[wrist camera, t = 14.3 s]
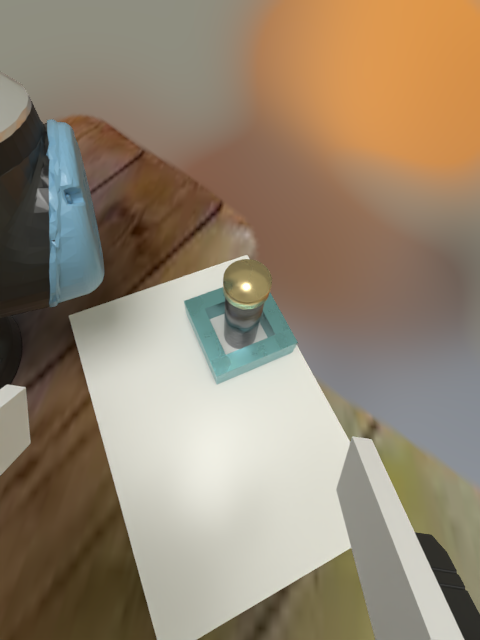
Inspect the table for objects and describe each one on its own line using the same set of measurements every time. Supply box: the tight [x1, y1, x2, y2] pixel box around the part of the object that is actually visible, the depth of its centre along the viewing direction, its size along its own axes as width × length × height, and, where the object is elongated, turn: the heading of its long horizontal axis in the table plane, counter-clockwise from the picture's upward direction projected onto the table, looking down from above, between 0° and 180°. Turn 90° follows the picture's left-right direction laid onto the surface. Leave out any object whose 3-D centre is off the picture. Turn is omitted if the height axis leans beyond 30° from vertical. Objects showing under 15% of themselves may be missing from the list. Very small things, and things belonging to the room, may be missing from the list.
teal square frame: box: [184, 287, 298, 384], centre depth 37 cm, size 9×9×3 cm
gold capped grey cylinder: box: [223, 259, 272, 349], centre depth 33 cm, size 4×4×12 cm
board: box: [69, 255, 351, 640], centre depth 35 cm, size 32×22×1 cm
